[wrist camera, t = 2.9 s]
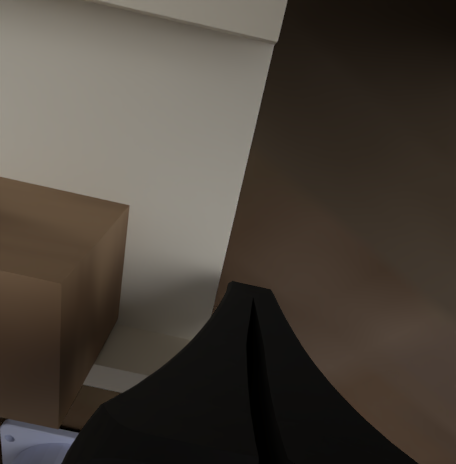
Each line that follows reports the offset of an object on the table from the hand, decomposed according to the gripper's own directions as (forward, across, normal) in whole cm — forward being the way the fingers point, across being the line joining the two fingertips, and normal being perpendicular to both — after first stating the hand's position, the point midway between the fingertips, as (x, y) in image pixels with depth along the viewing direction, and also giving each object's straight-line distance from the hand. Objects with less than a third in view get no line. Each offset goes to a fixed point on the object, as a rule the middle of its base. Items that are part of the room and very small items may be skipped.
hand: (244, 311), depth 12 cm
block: (+1, +6, 0) cm, 7 cm away
